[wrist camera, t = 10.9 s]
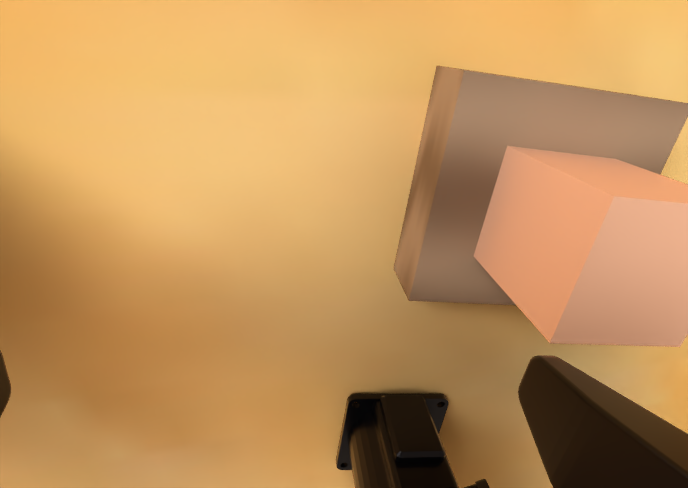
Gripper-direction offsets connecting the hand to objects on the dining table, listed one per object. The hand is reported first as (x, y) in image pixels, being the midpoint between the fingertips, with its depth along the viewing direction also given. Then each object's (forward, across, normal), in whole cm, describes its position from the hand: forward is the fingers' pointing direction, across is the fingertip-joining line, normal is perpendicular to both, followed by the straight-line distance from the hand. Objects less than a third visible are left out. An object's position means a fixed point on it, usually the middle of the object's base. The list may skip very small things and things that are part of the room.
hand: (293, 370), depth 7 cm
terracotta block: (+10, -11, 0) cm, 15 cm away
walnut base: (+13, -11, 0) cm, 17 cm away
